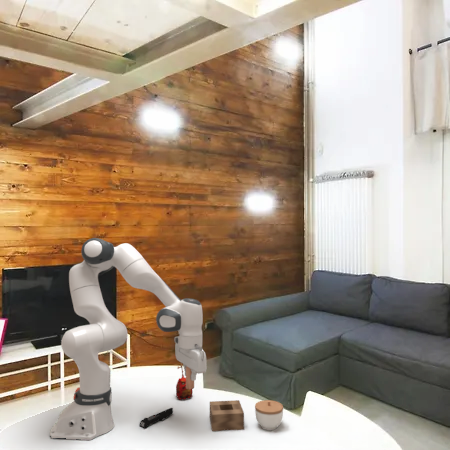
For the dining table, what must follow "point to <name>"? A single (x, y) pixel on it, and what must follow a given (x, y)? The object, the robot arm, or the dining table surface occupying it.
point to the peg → (188, 381)
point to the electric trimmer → (155, 418)
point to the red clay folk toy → (183, 388)
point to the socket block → (226, 415)
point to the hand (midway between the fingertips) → (190, 378)
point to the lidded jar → (269, 414)
